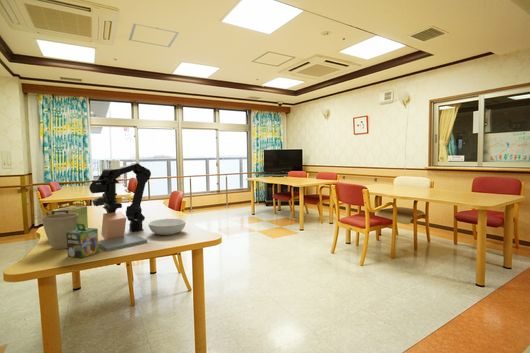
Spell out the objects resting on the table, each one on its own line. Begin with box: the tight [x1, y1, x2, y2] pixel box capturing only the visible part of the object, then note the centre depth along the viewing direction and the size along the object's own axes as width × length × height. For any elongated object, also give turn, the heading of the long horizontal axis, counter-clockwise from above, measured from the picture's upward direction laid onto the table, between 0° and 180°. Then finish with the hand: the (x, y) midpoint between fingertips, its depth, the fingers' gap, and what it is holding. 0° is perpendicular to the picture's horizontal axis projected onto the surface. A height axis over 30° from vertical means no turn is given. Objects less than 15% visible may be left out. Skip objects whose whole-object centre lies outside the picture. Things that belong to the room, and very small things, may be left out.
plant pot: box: [41, 213, 78, 250], centre depth 143 cm, size 15×15×16 cm
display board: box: [98, 233, 148, 252], centre depth 150 cm, size 20×16×2 cm
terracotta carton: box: [100, 211, 127, 240], centre depth 157 cm, size 9×8×13 cm
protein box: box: [51, 205, 89, 229], centre depth 168 cm, size 10×15×16 cm
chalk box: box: [66, 223, 100, 259], centre depth 132 cm, size 9×9×15 cm
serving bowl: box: [148, 218, 186, 236], centre depth 171 cm, size 21×21×7 cm
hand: (110, 219), depth 159 cm, fingers closed
